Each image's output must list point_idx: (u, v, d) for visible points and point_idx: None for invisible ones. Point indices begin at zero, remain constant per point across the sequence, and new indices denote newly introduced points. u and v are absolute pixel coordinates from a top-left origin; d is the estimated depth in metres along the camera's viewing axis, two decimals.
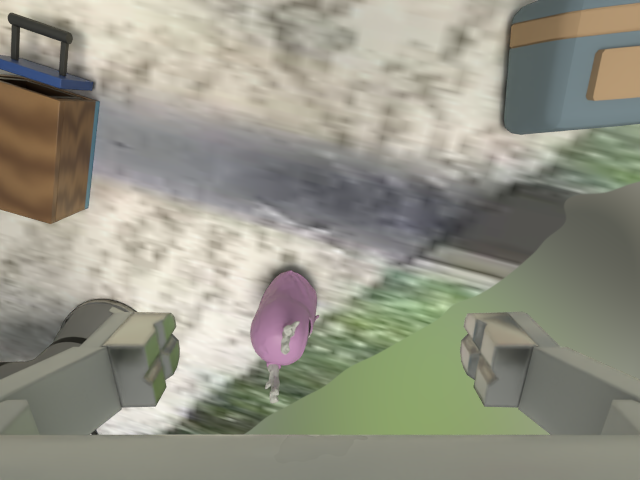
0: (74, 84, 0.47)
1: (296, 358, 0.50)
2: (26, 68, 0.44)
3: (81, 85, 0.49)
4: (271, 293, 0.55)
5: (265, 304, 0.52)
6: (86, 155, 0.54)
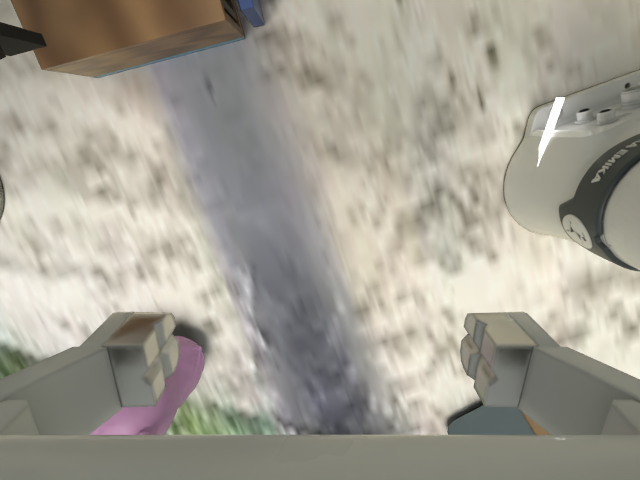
0: (253, 16, 0.33)
1: None
2: None
3: (255, 20, 0.35)
4: None
5: None
6: (168, 54, 0.37)
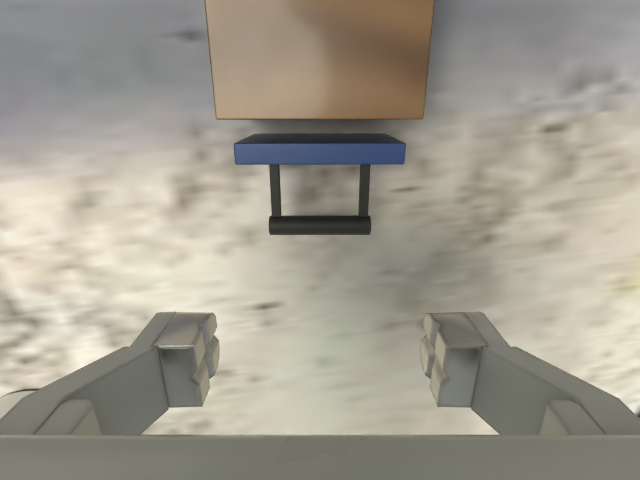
0: None
1: None
2: (307, 162, 0.21)
3: None
4: None
5: None
6: None
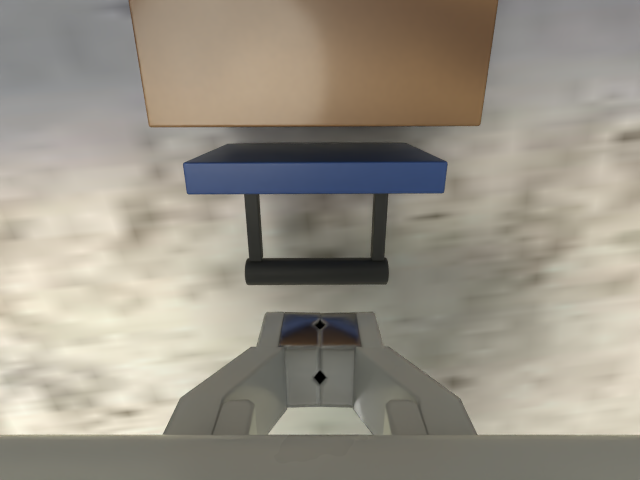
0: None
1: None
2: (296, 190, 0.14)
3: None
4: None
5: None
6: None
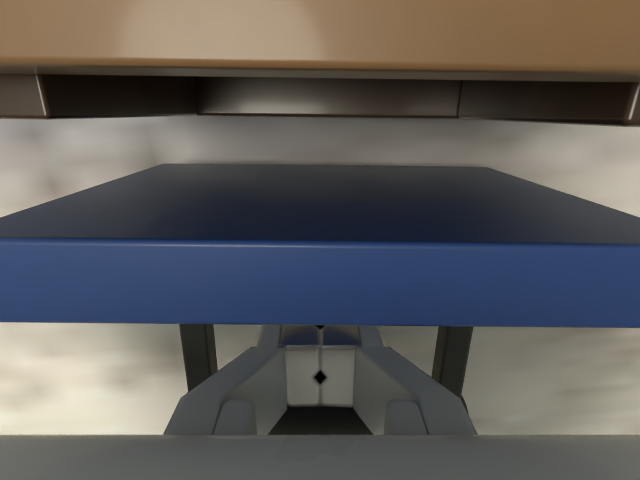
0: None
1: None
2: (279, 316, 0.05)
3: None
4: None
5: None
6: None
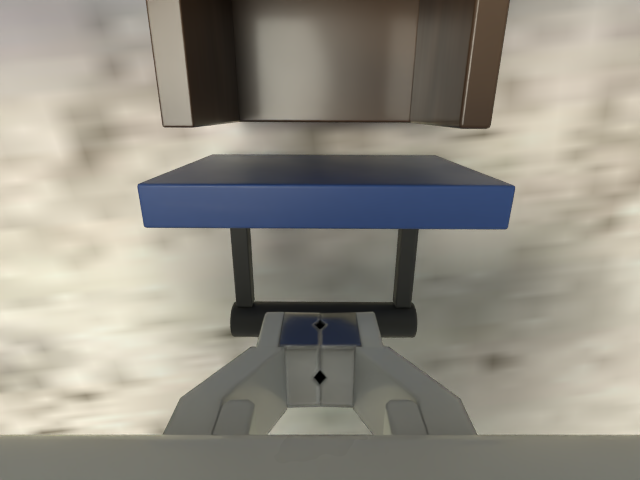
0: None
1: None
2: (298, 223, 0.10)
3: None
4: None
5: None
6: None
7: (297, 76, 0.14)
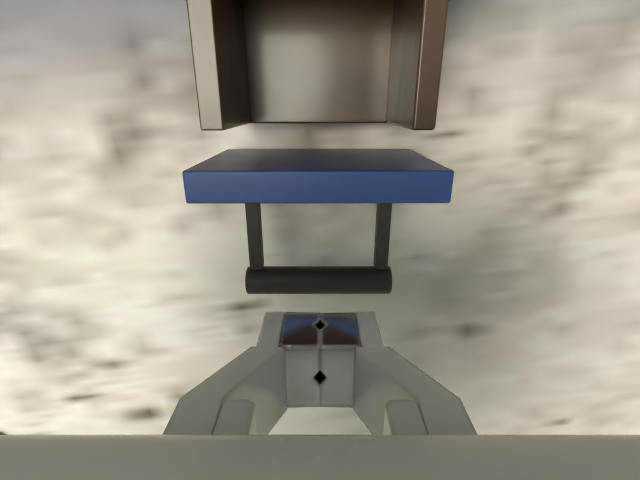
0: None
1: None
2: (298, 199, 0.13)
3: None
4: None
5: None
6: None
7: (296, 87, 0.17)
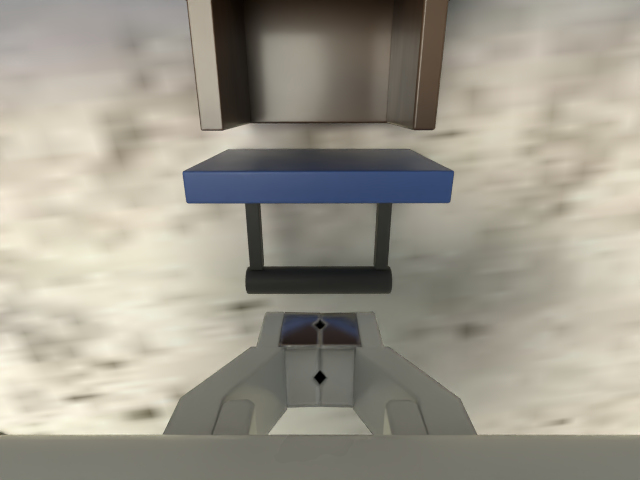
0: None
1: None
2: (298, 199, 0.13)
3: None
4: None
5: None
6: None
7: (296, 87, 0.17)
